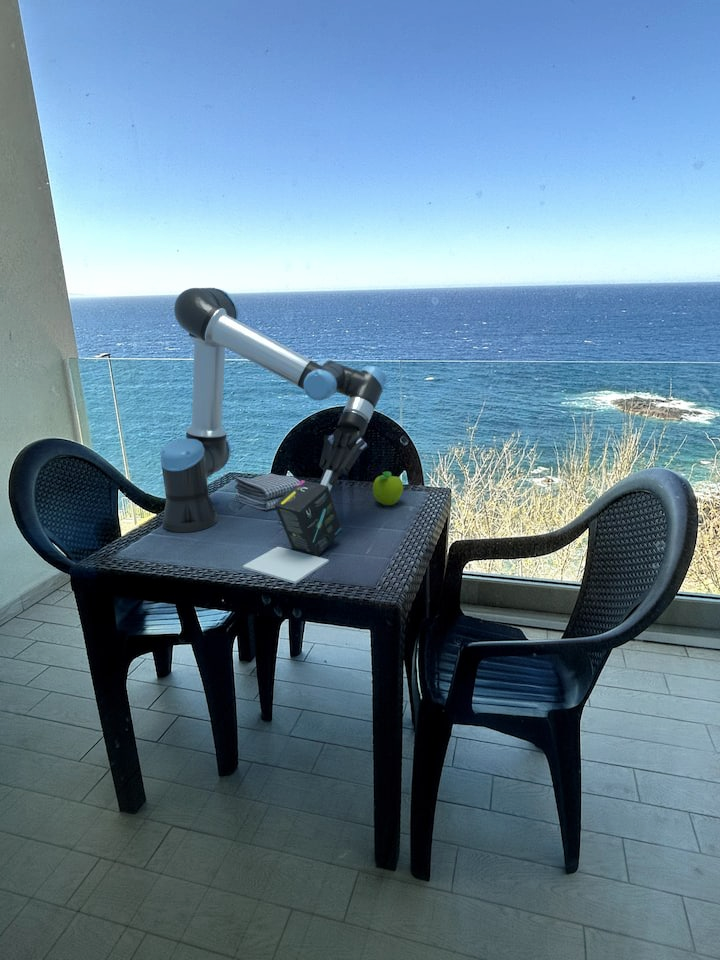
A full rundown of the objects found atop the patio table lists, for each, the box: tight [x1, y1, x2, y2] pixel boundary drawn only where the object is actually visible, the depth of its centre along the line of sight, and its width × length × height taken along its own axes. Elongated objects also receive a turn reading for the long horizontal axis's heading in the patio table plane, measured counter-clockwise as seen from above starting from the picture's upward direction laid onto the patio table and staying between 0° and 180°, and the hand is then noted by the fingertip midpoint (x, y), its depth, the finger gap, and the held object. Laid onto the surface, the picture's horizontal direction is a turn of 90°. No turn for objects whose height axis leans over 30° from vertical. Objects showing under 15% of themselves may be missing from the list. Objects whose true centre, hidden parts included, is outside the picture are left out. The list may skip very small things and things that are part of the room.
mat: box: [242, 546, 330, 585], centre depth 141 cm, size 16×13×1 cm
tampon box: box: [274, 479, 343, 557], centre depth 147 cm, size 11×9×15 cm
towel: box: [232, 473, 302, 511], centre depth 186 cm, size 15×18×8 cm
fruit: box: [372, 471, 404, 506], centre depth 179 cm, size 9×9×10 cm
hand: (322, 494), depth 149 cm, fingers closed
